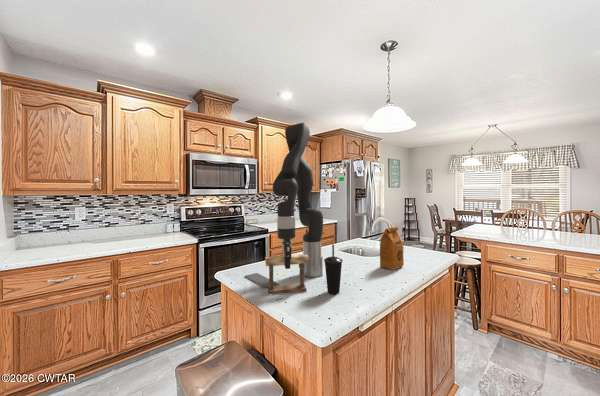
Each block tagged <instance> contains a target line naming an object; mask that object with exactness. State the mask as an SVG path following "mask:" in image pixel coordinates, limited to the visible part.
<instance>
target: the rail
mask: <svg viewBox="0 0 600 396" xmlns="http://www.w3.org/2000/svg"><path fill="white" fill-rule="evenodd" d="M286 257H287V256H286ZM284 258H285V257H284V256H265V257H264V259H265V267H269V265H273V267H276V266H284V265H285V259H284ZM301 263H304V264H308V263H309V256H308V255H303V254H296V255H295V254H294V255H291V260H290V266H293V265H299V264H301Z"/></svg>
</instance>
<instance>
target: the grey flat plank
mask: <svg viewBox="0 0 600 396" xmlns="http://www.w3.org/2000/svg"><path fill="white" fill-rule="evenodd" d="M244 276H245V277H244V278H246V279H247V278H248V279H247V280H249V279H250V280H249V281H251V280H252V281H251V282H253V281H254V282H253V283H255V284H256V283H257V285H258V284H259V285H258V286H260V285H261V286H260V287H262V288H264V289H268V287H269V277H266V276H265V275H262V274H260V273H258V272H255V273H251V274H247V275H244ZM273 286H280V285H279V283H278V282H276V281H274V280H273Z"/></svg>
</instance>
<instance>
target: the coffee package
mask: <svg viewBox="0 0 600 396" xmlns="http://www.w3.org/2000/svg"><path fill="white" fill-rule="evenodd" d="M398 230H399V227H398V226H393V227H387V228H385V230H384V231H383V233H382V235H381V237H380V242H379V267H380V268H381V269H388V270H394V269H399V268H402V267H404V245H403V241H402V239H401V237H400V236H399V232H398Z"/></svg>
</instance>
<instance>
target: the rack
mask: <svg viewBox="0 0 600 396" xmlns="http://www.w3.org/2000/svg"><path fill="white" fill-rule="evenodd" d="M298 268H299V284H289V285H288V284H287V285H275V286H273V281H274V266H273V265H269V266H268V275H269V277H268V279H269V287H268V288H267V295H268V296H270V294H272V295H284V294H296V293H297V294H298V293H307V287H306V284H305V275H304V271H305V264H304V263H301V264H298Z"/></svg>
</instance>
